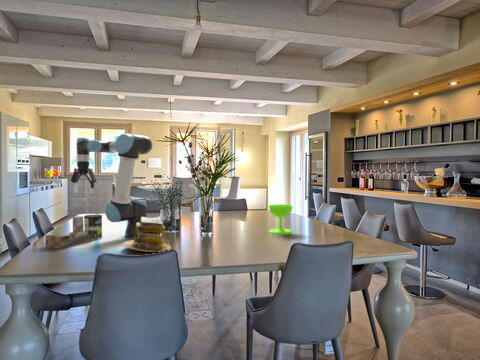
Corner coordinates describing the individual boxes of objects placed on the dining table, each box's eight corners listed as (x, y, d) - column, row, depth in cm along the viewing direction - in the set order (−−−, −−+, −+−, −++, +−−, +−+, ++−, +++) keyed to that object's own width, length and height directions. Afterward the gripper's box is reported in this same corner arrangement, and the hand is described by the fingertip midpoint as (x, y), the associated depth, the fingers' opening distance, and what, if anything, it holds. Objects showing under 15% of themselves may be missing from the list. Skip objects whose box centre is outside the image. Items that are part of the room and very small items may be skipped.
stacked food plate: (174, 243, 196) (174, 214, 195) (166, 254, 171) (166, 221, 171) (130, 244, 195) (130, 215, 194) (117, 255, 170) (116, 221, 170)
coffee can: (105, 237, 215) (105, 214, 215) (95, 240, 205) (95, 216, 204) (91, 236, 217) (90, 214, 217) (80, 239, 207) (80, 216, 206)
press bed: (92, 241, 202) (92, 230, 202) (61, 248, 183) (61, 236, 183) (76, 239, 207) (76, 228, 206) (45, 247, 187) (45, 235, 187)
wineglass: (294, 234, 224) (294, 207, 223) (269, 234, 224) (269, 206, 224) (290, 230, 240) (290, 204, 239) (267, 229, 240) (267, 204, 240)
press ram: (88, 238, 202) (88, 216, 202) (79, 240, 196) (79, 217, 196) (78, 237, 205) (78, 215, 205) (68, 239, 199) (68, 217, 198)
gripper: (64, 161, 230) (65, 192, 231) (93, 160, 221) (93, 193, 222) (73, 161, 237) (74, 191, 238) (101, 161, 228) (102, 192, 229)
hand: (83, 192), depth 230 cm, fingers open, 13 cm apart
